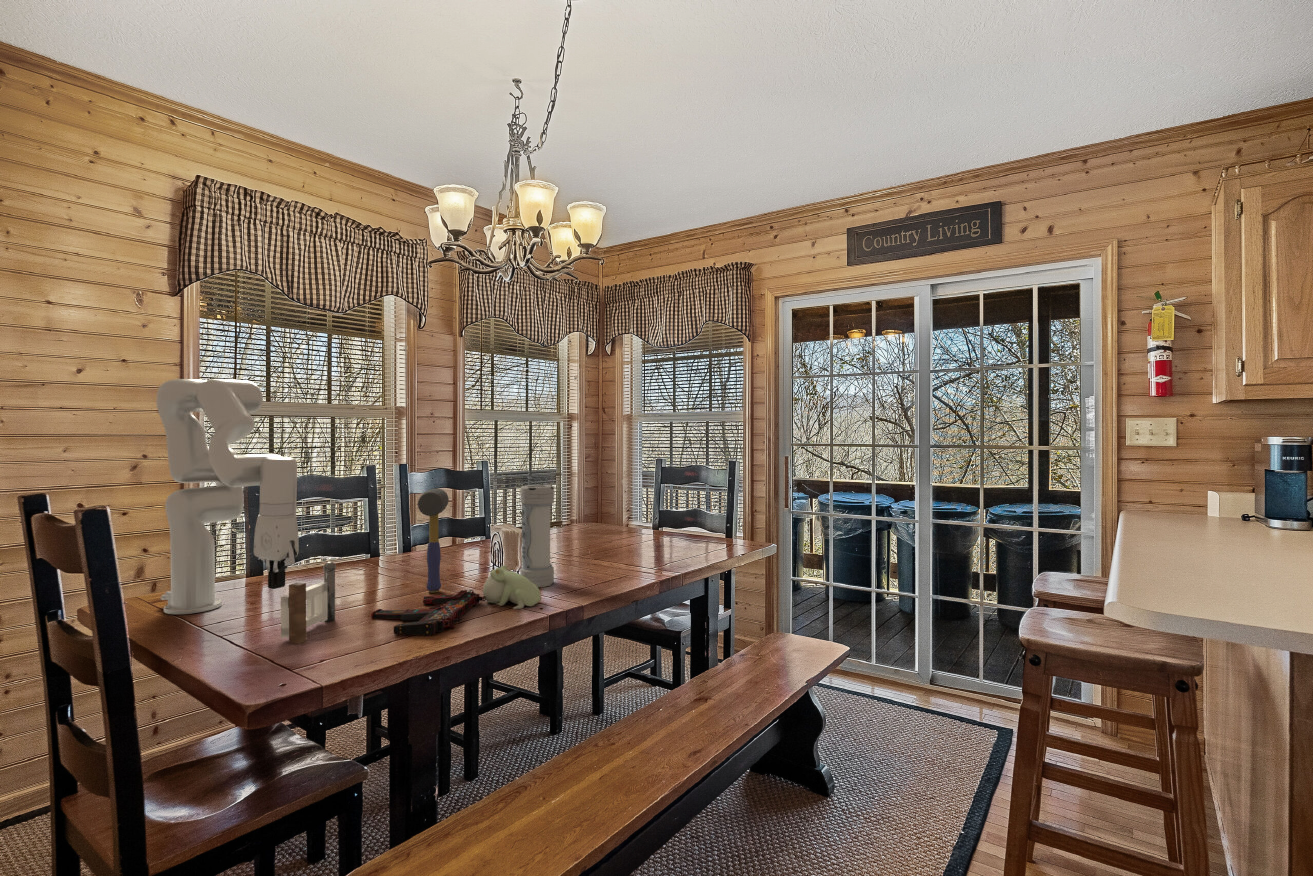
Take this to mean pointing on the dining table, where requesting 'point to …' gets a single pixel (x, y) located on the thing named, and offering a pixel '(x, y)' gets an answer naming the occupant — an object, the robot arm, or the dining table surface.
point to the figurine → (510, 589)
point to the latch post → (297, 613)
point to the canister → (536, 534)
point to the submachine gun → (431, 613)
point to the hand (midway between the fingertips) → (276, 587)
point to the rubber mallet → (433, 533)
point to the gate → (315, 607)
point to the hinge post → (330, 589)
